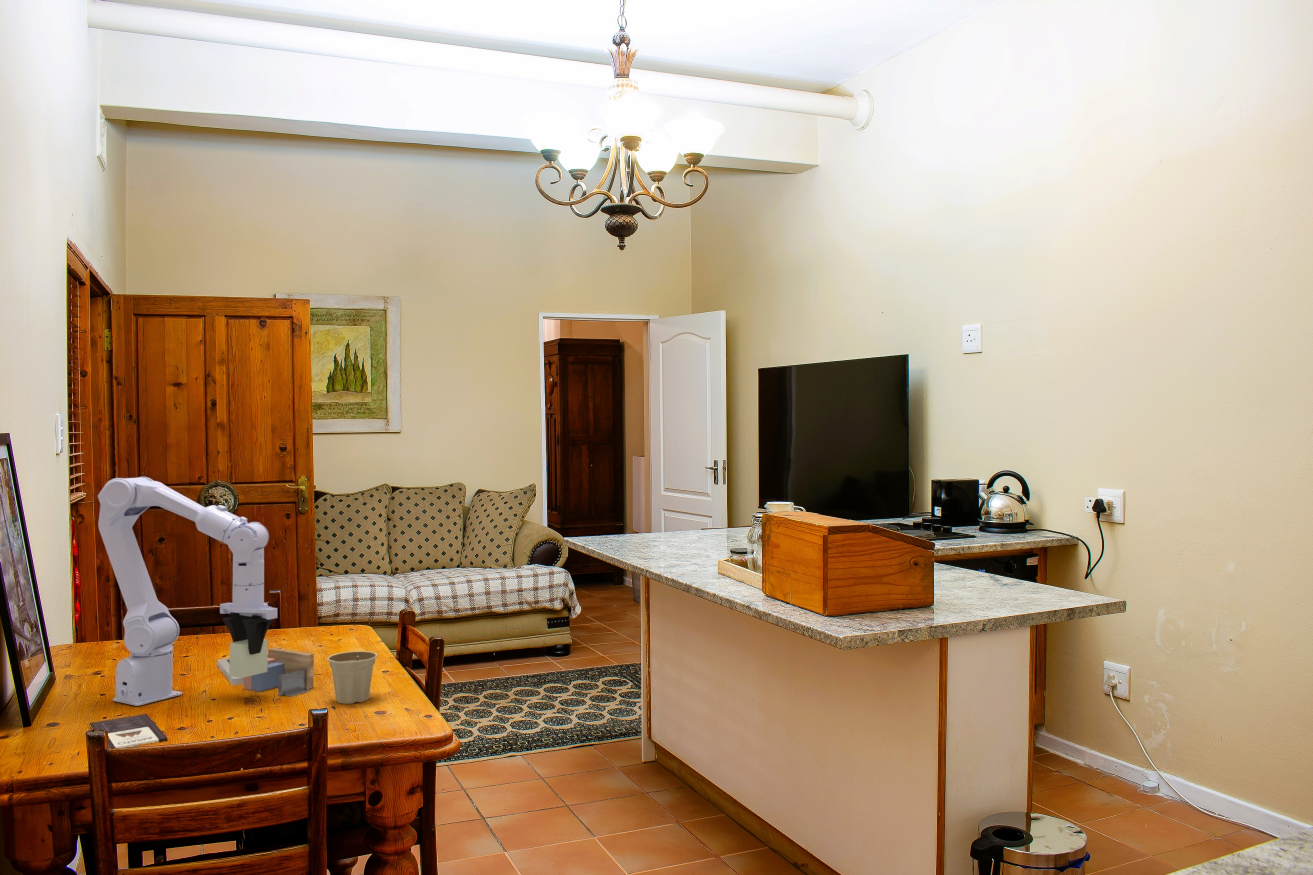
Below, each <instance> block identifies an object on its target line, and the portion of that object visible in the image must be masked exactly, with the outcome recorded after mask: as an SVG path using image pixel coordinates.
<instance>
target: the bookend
mask: <svg viewBox="0 0 1313 875" xmlns="http://www.w3.org/2000/svg"><path fill="white" fill-rule="evenodd" d="M277 688H278V689H277V691H278V692H277V694H278V696H281V697H282V696H287V697H290V698H292V697H295V696H297V695H301V694H305V693H309V692H311V691H312V688H311V689H306V670H305V669H301V670H297V671H293V672H289V673H286V674H282V675H278V687H277ZM308 691H309V692H308Z"/></svg>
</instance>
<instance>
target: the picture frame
mask: <svg viewBox="0 0 1313 875" xmlns="http://www.w3.org/2000/svg"><path fill="white" fill-rule="evenodd" d="M267 658H268V654H267ZM216 666H217V667H218V669H219V670H220V671H221V673H222V672H223V673H222V674H223V676H224V677H225V676H226V677H225V679H226V680H227V681H228V680H229V681H228V682H229V683H230V685H231V686H237V685H239V686H240V685H243V678H238V677H232V676H229V671H230V657H227V658H226V657H225V658H220V659H219V658H218V659H217V661H216Z"/></svg>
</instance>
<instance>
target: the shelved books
mask: <svg viewBox="0 0 1313 875" xmlns="http://www.w3.org/2000/svg"><path fill="white" fill-rule="evenodd" d="M282 674H284V663H278V662H276V659H274V658H267V672H265V673H260V674H256V675H252V676H248V677H244V678H243V684H242V686H243V688H242V689H244V690H248V691H255V692H259V693H261V692H264V691H268V690H272V689H275V688H278V675H282Z"/></svg>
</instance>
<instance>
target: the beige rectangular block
mask: <svg viewBox="0 0 1313 875" xmlns="http://www.w3.org/2000/svg"><path fill="white" fill-rule="evenodd" d="M268 640H269V639H266V638H264V641H263V645H262V648H261V652H260V653H257V654H253V655H251V654H249V649H248V639H247V640H242V641H237V642H233V641H232V642H230V643H229V658H230V671H229V676H232V677H238V678H244V677H248V676H252V675H256V674H260V673H265V672H267V654H268V649H269V648H268V643H269V642H268Z"/></svg>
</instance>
